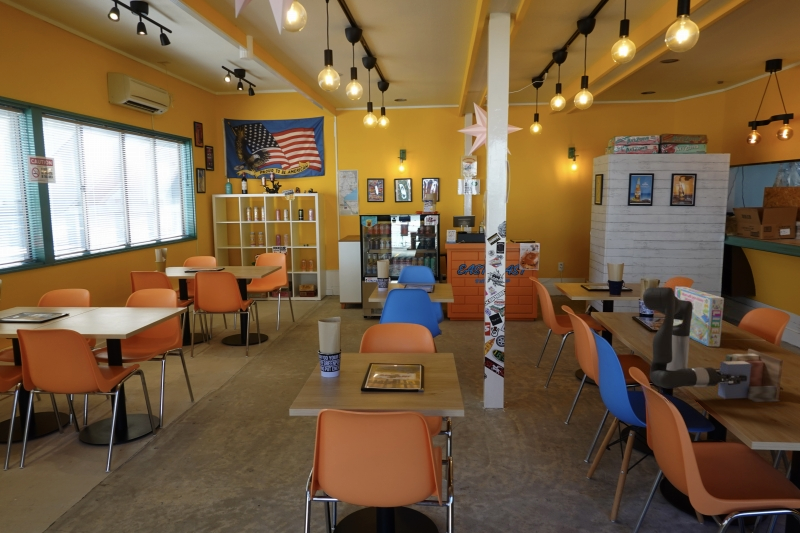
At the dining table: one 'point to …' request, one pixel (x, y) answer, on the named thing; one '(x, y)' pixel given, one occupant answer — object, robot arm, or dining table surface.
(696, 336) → the game box
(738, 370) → the boxed book
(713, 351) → the dining table surface
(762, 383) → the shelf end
